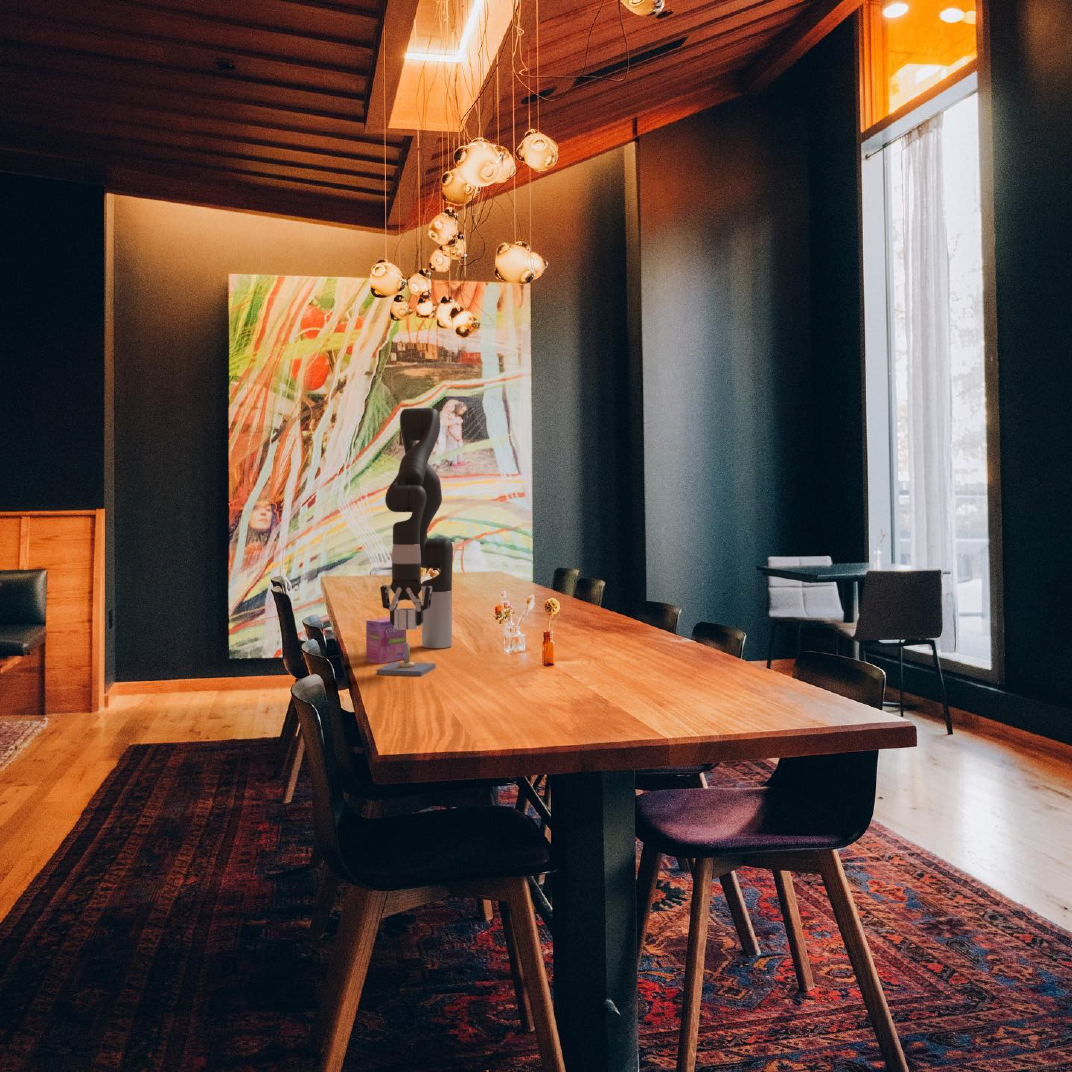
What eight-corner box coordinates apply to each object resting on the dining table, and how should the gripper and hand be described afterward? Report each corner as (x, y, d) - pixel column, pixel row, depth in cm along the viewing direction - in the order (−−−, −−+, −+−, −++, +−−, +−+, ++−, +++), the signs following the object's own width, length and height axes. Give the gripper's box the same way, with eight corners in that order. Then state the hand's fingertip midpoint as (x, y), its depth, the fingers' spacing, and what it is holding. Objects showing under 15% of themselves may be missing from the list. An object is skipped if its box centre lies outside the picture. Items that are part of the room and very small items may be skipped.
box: (380, 664, 254) (379, 621, 254) (365, 662, 258) (365, 619, 257) (407, 659, 263) (407, 617, 262) (393, 657, 266) (392, 616, 266)
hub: (399, 626, 248) (399, 607, 247) (421, 627, 246) (421, 608, 246) (391, 629, 242) (391, 610, 241) (413, 630, 240) (413, 610, 240)
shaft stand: (393, 666, 251) (393, 639, 251) (435, 667, 249) (435, 640, 249) (376, 674, 240) (376, 645, 239) (421, 676, 237) (421, 647, 237)
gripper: (437, 561, 246) (437, 624, 246) (385, 560, 249) (385, 622, 249) (427, 562, 238) (428, 627, 239) (375, 562, 241) (375, 626, 242)
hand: (406, 625), depth 244 cm, fingers closed on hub, 6 cm apart
